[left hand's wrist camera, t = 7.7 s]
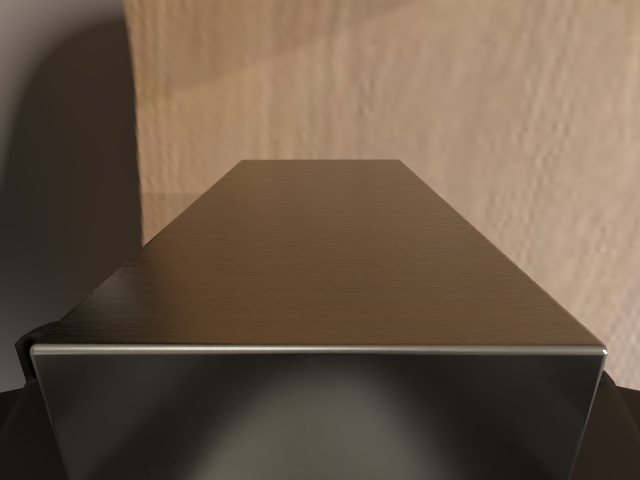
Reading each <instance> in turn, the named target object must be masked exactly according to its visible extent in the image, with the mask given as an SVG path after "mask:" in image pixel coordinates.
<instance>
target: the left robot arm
mask: <svg viewBox="0 0 640 480" xmlns="http://www.w3.org/2000/svg"><path fill="white" fill-rule="evenodd" d="M57 322H58V321H56V322H51V323H48V324H46V325H43V326H41V327H38V328H36V329H34V330H32V331H30V332H29V333H27V334H25V335H24V336H22V337H21V338H20V339H19V340H18V341H17V342H16V343H15V347H16V351H17V354H18V357H19V360H20V363H21V366H22V369H23V372H24V376H25V379H26V384H25V386H24V388H21V389H16V390H11V391H6V392H2V393H0V480H68V477H67V474H66V471H65V467H64V464H63V461H62V458H61V454H60V451H59V448H58V444H57V441H56V438H55V435H54V431H53V428H52V425H51V421H50V418H49V415H48V412H47V408H46V405H45V402H44V398H43V395H42V392H41V389H40V385H39V382H38V379H37V376H36V372H35V369H34V366H33V362H32V359H31V356H30V348H31V346H32V344H33V343H35V342H36V341H37V340H38V339H39V338H40V337H41V336H43V335H44V334H45V333H46V332H47V331H48V330H49V329H51V328H52V327H53V326H54V325H55V324H56V323H57ZM570 480H640V391H638V390H633V389H628V388H623V387H619V386H616V385H615V383H614V381H613V380H612V379H611V377H610V376H609V375H608V374H607V373H606V372H605V371H604V370H603V371H602V375H601V378H600V381H599V385H598V388H597V391H596V395H595V398H594V401H593V405H592V408H591V411H590V415H589V418H588V422H587V425H586V428H585V432H584V435H583V438H582V442H581V445H580V448H579V452H578V455H577V458H576V462H575V465H574V468H573V472H572V475H571V478H570Z"/></svg>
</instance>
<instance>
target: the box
mask: <svg viewBox="0 0 640 480" xmlns="http://www.w3.org/2000/svg"><path fill="white" fill-rule="evenodd" d="M607 355H608V354H607V348H606V346H605V345H604V344H603V343H602V342H601V341H600V340H599V339H598V338H597V337H596V336H594V335H593V334H592V333H591V332H590V331H589V330H588V329H587V328H586V327H584V326H583V325H582V324H581V323H580V322H579V321H578V320H577V319H576V318H574V317H573V316H572V315H571V314H570V313H569V312H568V311H567V310H566V309H564V308H563V307H562V306H561V305H560V304H559V303H558V302H557V301H556V300H554V299H553V298H552V297H551V296H550V295H549V294H548V293H547V292H546V291H544V290H543V289H542V288H541V287H540V286H539V285H538V284H537V283H536V282H535V281H533V280H532V279H531V278H530V277H529V276H528V275H527V274H526V273H525V272H523V271H522V270H521V269H520V268H519V267H518V266H517V265H516V264H515V263H513V262H512V261H511V260H510V259H509V258H508V257H507V256H506V255H505V254H503V253H502V252H501V251H500V250H499V249H498V248H497V247H496V246H495V245H493V244H492V243H491V242H490V241H489V240H488V239H487V238H486V237H485V236H483V235H482V234H481V233H480V232H479V231H478V230H477V229H476V228H475V227H473V226H472V225H471V224H470V223H469V222H468V221H467V220H466V219H465V218H463V217H462V216H461V215H460V214H459V213H458V212H457V211H456V210H455V209H453V208H452V207H451V206H450V205H449V204H448V203H447V202H446V201H445V200H443V199H442V198H441V197H440V196H439V195H438V194H437V193H436V192H435V191H434V190H432V189H431V188H430V187H429V186H428V185H427V184H426V183H425V182H424V181H422V180H421V179H420V178H419V177H418V176H417V175H416V174H415V173H414V172H412V171H411V170H410V169H409V168H408V167H407V166H406V165H405V164H404V163H402V162H401V161H400V160H241V161H240V162H239V163H238V164H237V165H236V166H235V167H233V168H232V169H231V170H230V171H229V172H228V173H227V174H225V175H224V176H223V177H222V178H221V179H220V180H219V181H217V182H216V183H215V184H214V185H213V186H212V187H211V188H210V189H208V190H207V191H206V192H205V193H204V194H203V195H202V196H200V197H199V198H198V199H197V200H196V201H195V202H194V203H193V204H191V205H190V206H189V207H188V208H187V209H186V210H185V211H183V212H182V213H181V214H180V215H179V216H178V217H177V218H175V219H174V220H173V221H172V222H171V223H170V224H169V225H168V226H166V227H165V228H164V229H163V230H162V231H161V232H160V233H158V234H157V235H156V236H155V237H154V238H153V239H152V240H150V241H149V242H148V243H147V244H146V245H145V246H144V247H143V248H141V249H140V250H139V251H138V252H137V253H136V254H135V255H133V256H132V257H131V258H130V259H129V260H128V261H127V262H126V263H124V264H123V265H122V266H121V267H120V268H119V269H118V270H116V271H115V272H114V273H113V274H112V275H111V276H110V277H108V278H107V279H106V280H105V281H104V282H103V283H102V284H101V285H99V286H98V287H97V288H96V289H95V290H94V291H93V292H91V293H90V294H89V295H88V296H87V297H86V298H85V299H83V300H82V301H81V302H80V303H79V304H78V305H77V306H76V307H74V308H73V309H72V310H71V311H70V312H69V313H68V314H66V315H65V316H64V317H63V318H62V319H61V320H60V321H58V322H57V323H56V324H55V325H54V326H53V327H52V328H51V329H49V330H48V331H47V332H46V333H45V334H44V335H43V336H41V337H40V338H39V339H38V340H37V341H36V342H35V343H33V344H32V346H31V348H30V356H31V359H32V362H33V366H34V369H35V372H36V376H37V379H38V382H39V385H40V389H41V392H42V395H43V398H44V402H45V405H46V408H47V412H48V415H49V418H50V421H51V425H52V428H53V431H54V435H55V438H56V441H57V444H58V448H59V451H60V454H61V458H62V461H63V464H64V467H65V471H66V474H67V477H68V480H570V478H571V475H572V472H573V468H574V465H575V462H576V458H577V455H578V452H579V448H580V445H581V442H582V438H583V435H584V432H585V428H586V425H587V422H588V418H589V415H590V411H591V408H592V405H593V401H594V398H595V395H596V391H597V388H598V385H599V381H600V378H601V375H602V371H603V368H604V365H605V361H606V358H607Z"/></svg>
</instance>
